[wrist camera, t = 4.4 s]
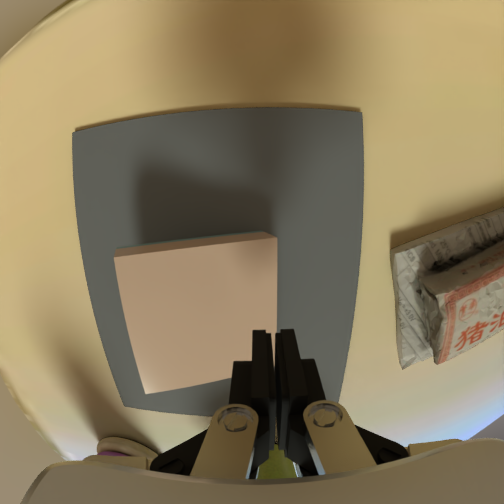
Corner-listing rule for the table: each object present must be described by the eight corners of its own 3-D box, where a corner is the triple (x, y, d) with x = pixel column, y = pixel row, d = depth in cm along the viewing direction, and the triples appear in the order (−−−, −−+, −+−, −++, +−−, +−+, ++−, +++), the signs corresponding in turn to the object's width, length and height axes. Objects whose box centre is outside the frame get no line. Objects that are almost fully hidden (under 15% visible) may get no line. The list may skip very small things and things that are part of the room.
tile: (277, 237, 15) (113, 257, 12) (275, 365, 17) (145, 394, 14) (261, 230, 17) (116, 247, 14) (262, 349, 19) (143, 373, 16)
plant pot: (297, 418, 21) (309, 504, 13) (314, 467, 23) (324, 533, 15) (194, 434, 22) (177, 513, 14) (229, 480, 24) (224, 543, 16)
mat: (360, 113, 15) (362, 112, 15) (335, 409, 21) (335, 412, 20) (74, 132, 15) (72, 132, 15) (125, 404, 21) (124, 406, 21)
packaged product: (570, 199, 11) (561, 305, 14) (534, 191, 16) (532, 287, 18) (419, 270, 13) (419, 400, 15) (383, 246, 17) (395, 361, 20)
